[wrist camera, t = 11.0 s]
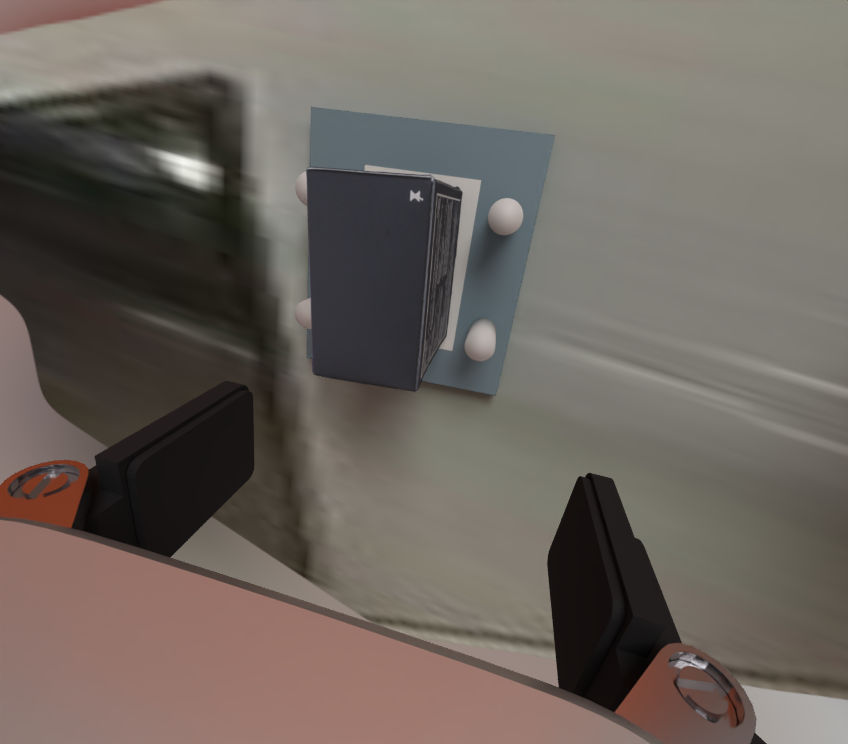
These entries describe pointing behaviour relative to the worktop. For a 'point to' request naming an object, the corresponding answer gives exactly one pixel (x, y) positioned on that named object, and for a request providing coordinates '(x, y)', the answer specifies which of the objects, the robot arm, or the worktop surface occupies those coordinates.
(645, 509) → the worktop surface
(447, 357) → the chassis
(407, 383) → the small box
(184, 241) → the worktop surface
